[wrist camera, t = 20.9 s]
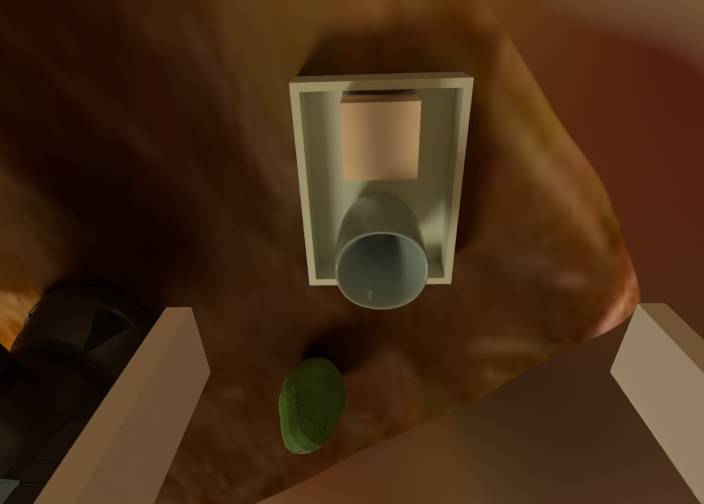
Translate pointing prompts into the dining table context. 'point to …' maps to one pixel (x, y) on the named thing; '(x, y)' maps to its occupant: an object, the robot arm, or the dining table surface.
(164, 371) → the robot arm
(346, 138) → the beech block
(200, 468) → the dining table surface
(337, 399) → the avocado
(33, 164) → the dining table surface
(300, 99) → the tray
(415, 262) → the cup
